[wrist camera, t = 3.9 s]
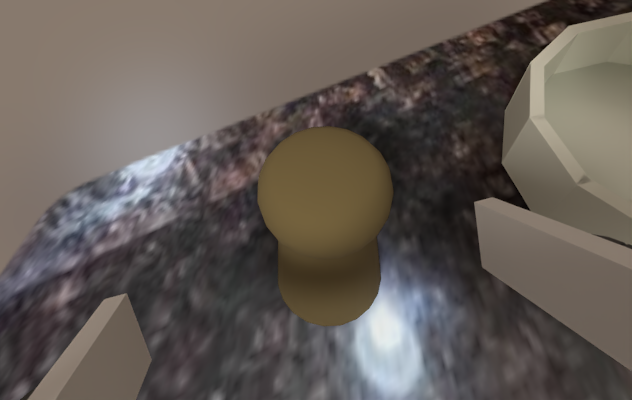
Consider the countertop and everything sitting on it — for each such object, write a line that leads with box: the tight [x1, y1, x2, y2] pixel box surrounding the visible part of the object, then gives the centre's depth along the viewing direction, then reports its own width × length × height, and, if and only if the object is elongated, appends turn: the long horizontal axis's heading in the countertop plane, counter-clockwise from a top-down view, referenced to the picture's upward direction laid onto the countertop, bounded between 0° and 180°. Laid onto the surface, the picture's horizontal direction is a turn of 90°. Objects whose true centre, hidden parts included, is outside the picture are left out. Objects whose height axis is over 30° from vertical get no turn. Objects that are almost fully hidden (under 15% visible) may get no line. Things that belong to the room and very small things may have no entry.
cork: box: [258, 126, 394, 326], centre depth 19 cm, size 6×6×11 cm
